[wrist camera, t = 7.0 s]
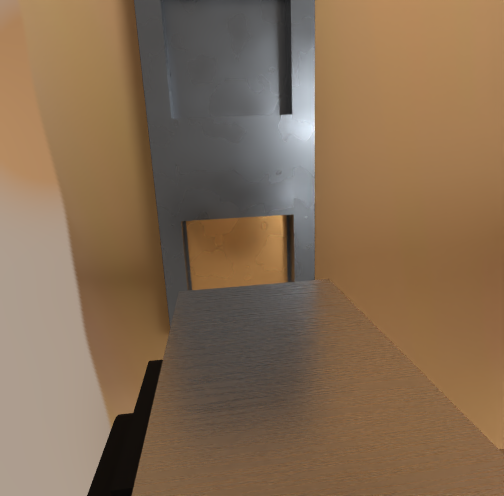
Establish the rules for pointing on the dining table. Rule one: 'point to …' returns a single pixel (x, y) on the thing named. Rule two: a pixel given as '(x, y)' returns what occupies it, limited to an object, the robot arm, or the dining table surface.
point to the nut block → (301, 405)
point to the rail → (231, 139)
